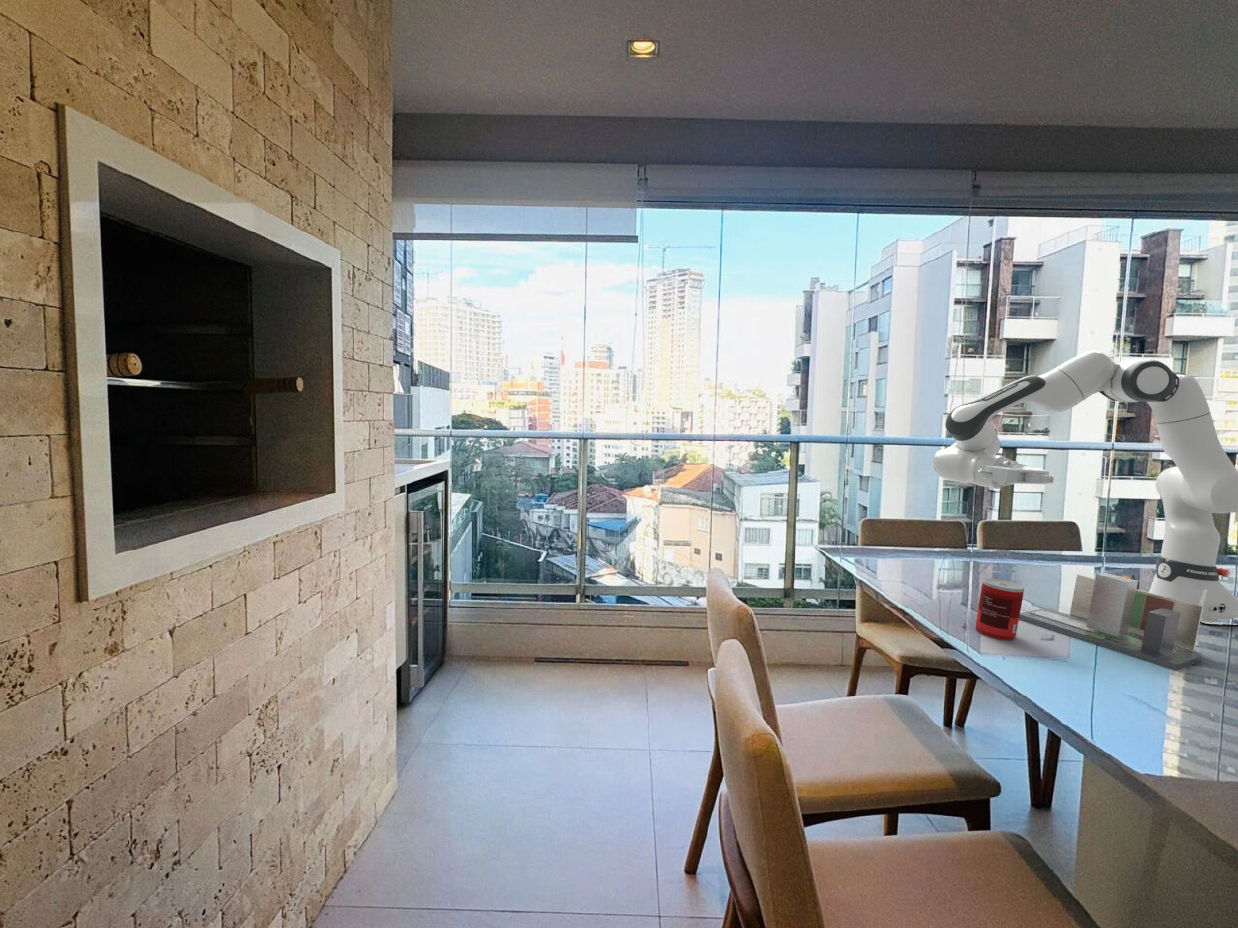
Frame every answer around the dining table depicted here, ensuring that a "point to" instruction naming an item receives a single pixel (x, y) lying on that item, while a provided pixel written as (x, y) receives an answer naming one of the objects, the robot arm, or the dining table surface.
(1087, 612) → the base
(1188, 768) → the dining table surface
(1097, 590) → the brushed steel slab
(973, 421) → the robot arm
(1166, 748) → the dining table surface
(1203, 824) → the dining table surface
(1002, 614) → the canned food
